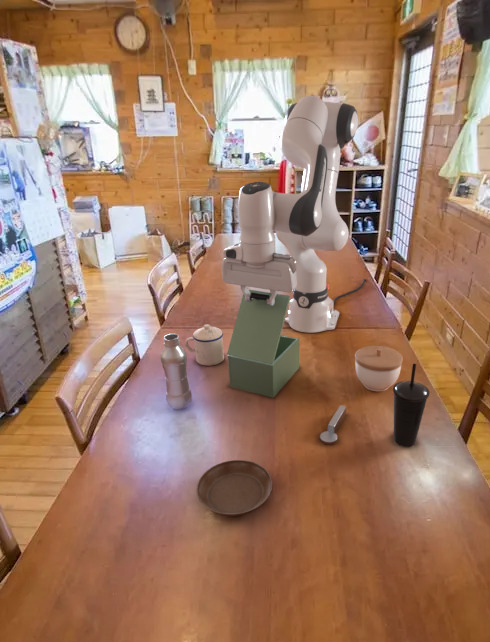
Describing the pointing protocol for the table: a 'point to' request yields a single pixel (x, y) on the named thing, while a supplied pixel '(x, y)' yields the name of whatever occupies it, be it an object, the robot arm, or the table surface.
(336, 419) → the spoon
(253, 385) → the bin
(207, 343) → the teacup with lid
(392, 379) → the lidded bowl
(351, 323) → the table surface
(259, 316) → the bin lid
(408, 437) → the drinking cup
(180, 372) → the silver metal bottle
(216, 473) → the saucer
